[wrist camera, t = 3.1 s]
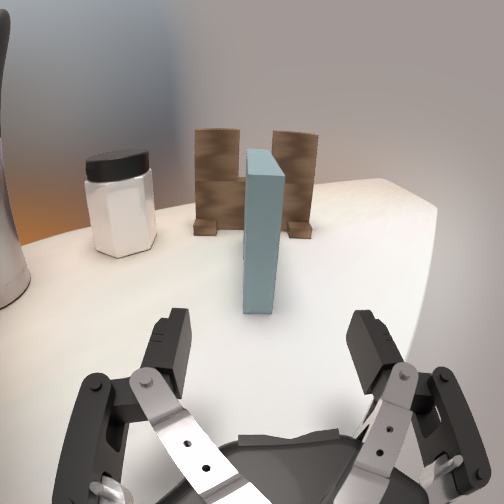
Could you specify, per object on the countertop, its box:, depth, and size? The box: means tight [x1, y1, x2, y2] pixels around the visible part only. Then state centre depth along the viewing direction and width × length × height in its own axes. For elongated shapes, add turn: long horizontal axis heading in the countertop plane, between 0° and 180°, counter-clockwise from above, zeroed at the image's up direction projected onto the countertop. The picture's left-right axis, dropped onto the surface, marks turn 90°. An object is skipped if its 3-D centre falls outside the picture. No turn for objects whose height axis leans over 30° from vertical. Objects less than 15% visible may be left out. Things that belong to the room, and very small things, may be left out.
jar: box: [85, 149, 157, 258], centre depth 32 cm, size 9×8×12 cm
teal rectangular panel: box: [243, 149, 285, 314], centre depth 27 cm, size 14×2×12 cm, turn 1°
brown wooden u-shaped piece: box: [193, 128, 318, 239], centre depth 37 cm, size 16×7×14 cm, turn 91°
